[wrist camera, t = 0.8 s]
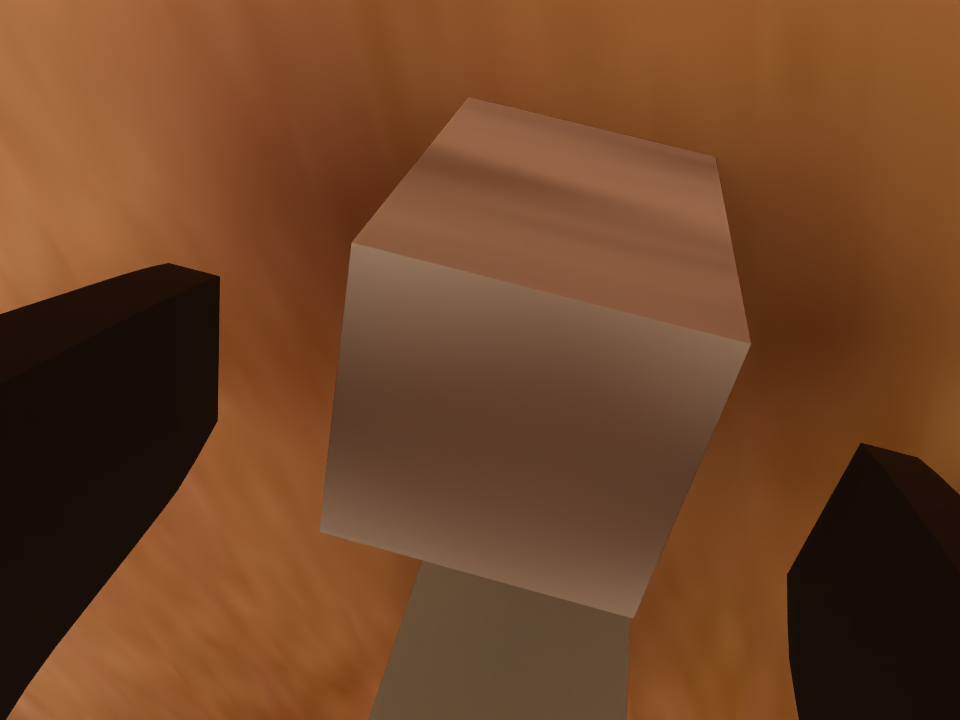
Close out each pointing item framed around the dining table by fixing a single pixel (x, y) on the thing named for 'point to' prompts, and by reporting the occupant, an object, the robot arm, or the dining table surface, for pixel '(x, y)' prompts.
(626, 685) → the sage block
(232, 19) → the dining table surface
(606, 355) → the brown metal block
